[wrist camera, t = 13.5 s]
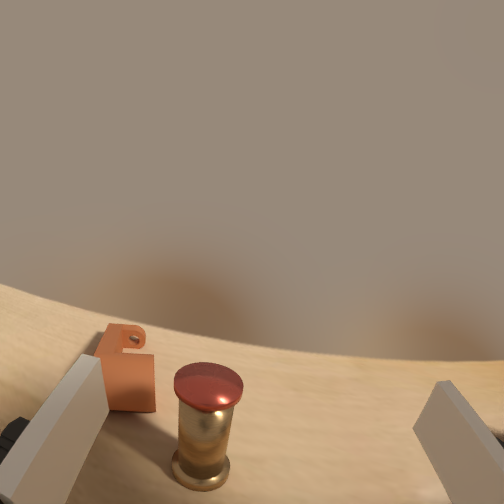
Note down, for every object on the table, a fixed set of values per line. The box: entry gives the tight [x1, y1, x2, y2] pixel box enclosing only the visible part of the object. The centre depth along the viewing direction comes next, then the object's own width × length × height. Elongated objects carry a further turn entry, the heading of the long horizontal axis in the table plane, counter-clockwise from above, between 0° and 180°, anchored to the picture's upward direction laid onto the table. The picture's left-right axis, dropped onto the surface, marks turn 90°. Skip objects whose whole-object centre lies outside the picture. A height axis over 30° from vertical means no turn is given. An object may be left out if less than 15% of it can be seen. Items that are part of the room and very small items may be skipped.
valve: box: [172, 362, 243, 492], centre depth 27 cm, size 6×6×14 cm
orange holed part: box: [94, 323, 156, 412], centre depth 42 cm, size 20×8×8 cm, turn 17°
